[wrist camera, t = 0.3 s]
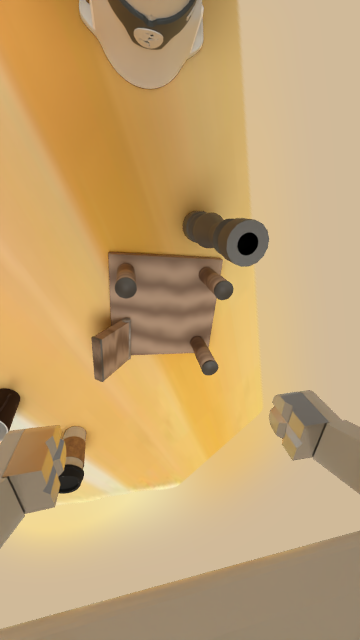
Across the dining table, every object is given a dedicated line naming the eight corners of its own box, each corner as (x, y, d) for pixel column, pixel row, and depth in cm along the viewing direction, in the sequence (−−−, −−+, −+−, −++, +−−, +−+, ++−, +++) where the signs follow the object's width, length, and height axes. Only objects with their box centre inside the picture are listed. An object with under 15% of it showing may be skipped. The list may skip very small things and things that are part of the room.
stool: (109, 251, 50) (103, 267, 39) (219, 258, 56) (244, 273, 44) (112, 351, 61) (109, 387, 49) (205, 348, 66) (222, 380, 55)
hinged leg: (125, 317, 55) (91, 336, 46) (132, 319, 55) (100, 339, 45) (125, 354, 60) (94, 379, 51) (132, 356, 59) (102, 382, 50)
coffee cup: (78, 418, 69) (67, 470, 55) (96, 434, 73) (89, 485, 59) (53, 432, 69) (36, 486, 56) (72, 446, 73) (60, 500, 60)
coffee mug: (3, 415, 63) (-17, 449, 54) (-23, 394, 59) (-49, 428, 50) (42, 396, 63) (28, 428, 54) (19, 374, 59) (0, 404, 50)
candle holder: (215, 230, 53) (277, 249, 31) (192, 246, 53) (237, 278, 31) (201, 204, 50) (259, 206, 28) (177, 222, 50) (215, 237, 29)
